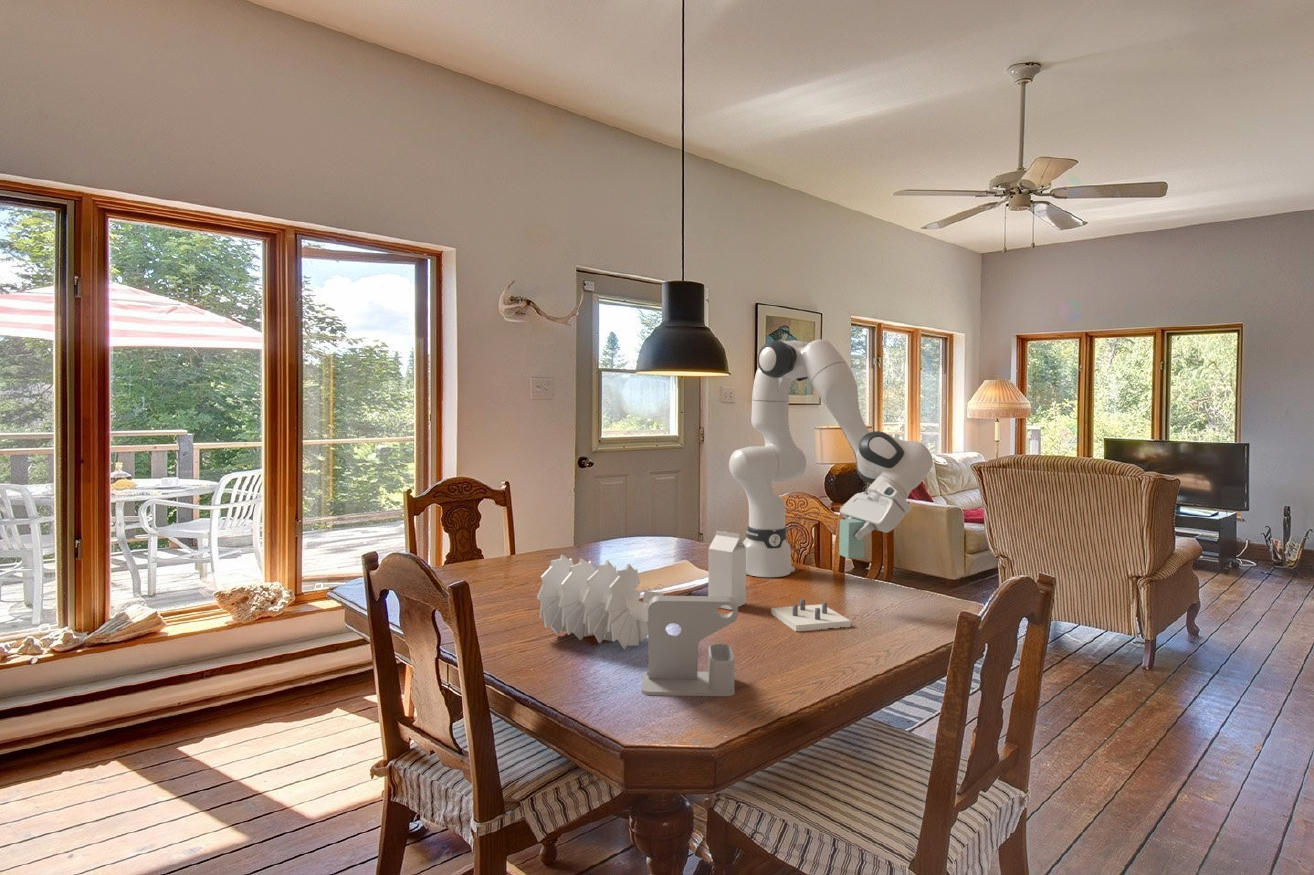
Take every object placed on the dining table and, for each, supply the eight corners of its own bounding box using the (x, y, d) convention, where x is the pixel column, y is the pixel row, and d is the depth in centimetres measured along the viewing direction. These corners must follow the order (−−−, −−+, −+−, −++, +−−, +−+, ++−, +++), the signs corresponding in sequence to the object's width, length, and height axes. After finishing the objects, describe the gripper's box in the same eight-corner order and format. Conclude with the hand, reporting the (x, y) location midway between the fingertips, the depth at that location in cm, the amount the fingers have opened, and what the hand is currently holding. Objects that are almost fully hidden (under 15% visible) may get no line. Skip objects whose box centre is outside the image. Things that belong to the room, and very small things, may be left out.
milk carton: (731, 610, 184) (732, 536, 183) (707, 605, 188) (708, 533, 187) (745, 604, 189) (746, 532, 188) (722, 599, 194) (723, 529, 192)
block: (839, 554, 185) (839, 519, 184) (854, 553, 186) (855, 518, 185) (848, 558, 180) (849, 522, 180) (864, 557, 181) (865, 521, 181)
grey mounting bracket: (732, 675, 141) (733, 584, 140) (737, 697, 131) (738, 598, 130) (643, 674, 142) (643, 583, 141) (641, 695, 132) (641, 597, 130)
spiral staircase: (633, 673, 152) (540, 646, 165) (672, 618, 166) (582, 597, 178) (617, 606, 144) (519, 583, 157) (658, 553, 157) (565, 536, 170)
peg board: (771, 614, 181) (771, 598, 181) (822, 610, 185) (822, 594, 184) (795, 631, 168) (796, 614, 167) (850, 627, 171) (850, 610, 171)
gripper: (855, 482, 194) (821, 520, 192) (900, 492, 174) (863, 534, 172) (870, 498, 195) (836, 536, 193) (916, 510, 176) (879, 552, 174)
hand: (849, 535), depth 183 cm, fingers closed on block, 4 cm apart
